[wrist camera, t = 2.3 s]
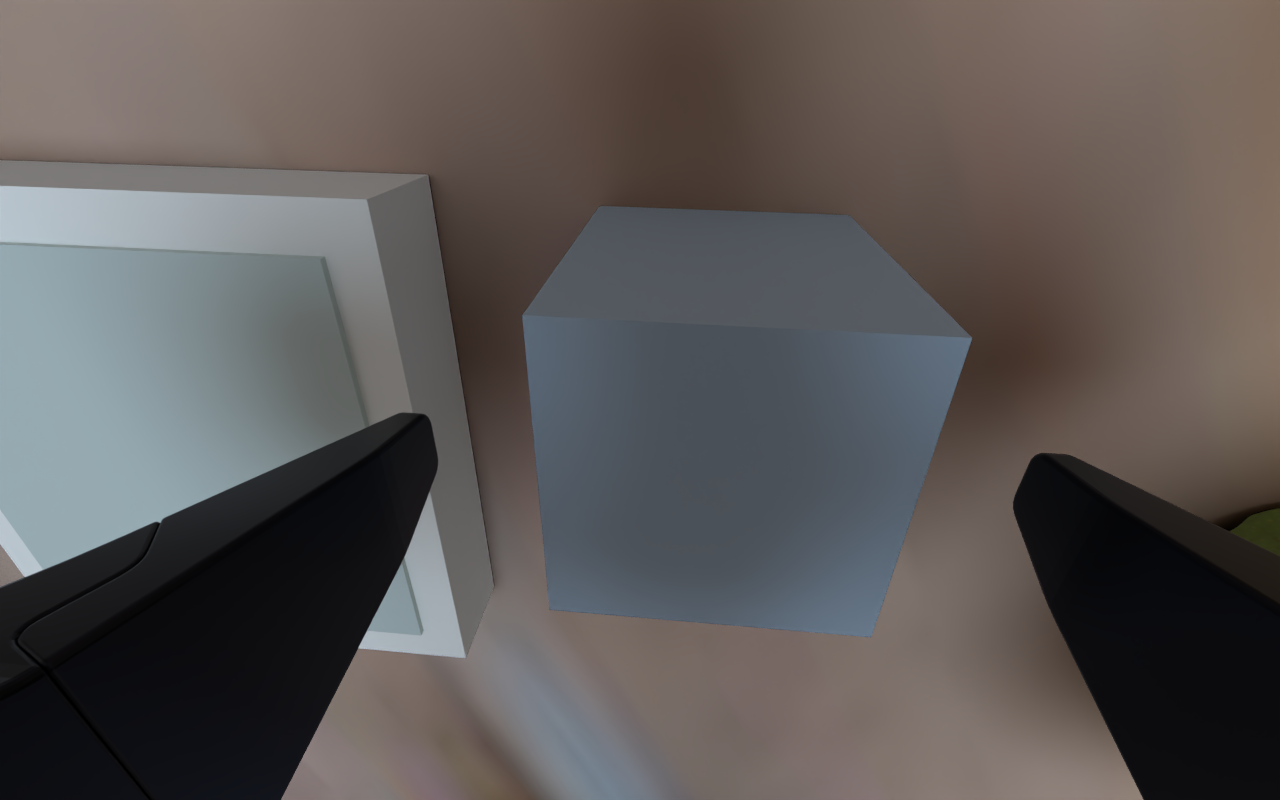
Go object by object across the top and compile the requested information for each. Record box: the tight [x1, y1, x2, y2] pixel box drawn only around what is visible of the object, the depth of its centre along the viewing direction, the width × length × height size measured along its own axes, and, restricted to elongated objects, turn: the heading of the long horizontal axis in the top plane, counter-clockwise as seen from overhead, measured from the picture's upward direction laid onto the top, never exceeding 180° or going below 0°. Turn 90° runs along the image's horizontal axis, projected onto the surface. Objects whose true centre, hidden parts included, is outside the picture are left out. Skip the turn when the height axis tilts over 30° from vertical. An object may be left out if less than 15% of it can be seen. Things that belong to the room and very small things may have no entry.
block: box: [522, 206, 972, 637], centre depth 10 cm, size 5×5×6 cm
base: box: [0, 160, 494, 658], centre depth 14 cm, size 12×12×3 cm
